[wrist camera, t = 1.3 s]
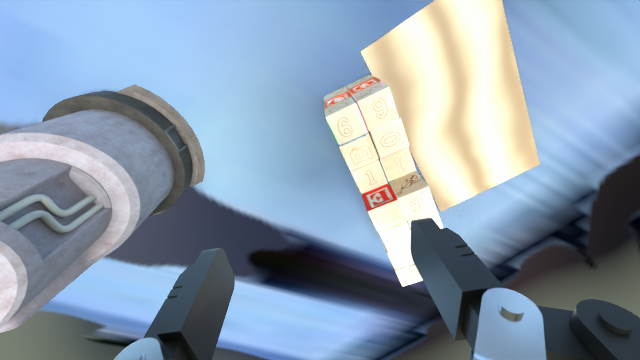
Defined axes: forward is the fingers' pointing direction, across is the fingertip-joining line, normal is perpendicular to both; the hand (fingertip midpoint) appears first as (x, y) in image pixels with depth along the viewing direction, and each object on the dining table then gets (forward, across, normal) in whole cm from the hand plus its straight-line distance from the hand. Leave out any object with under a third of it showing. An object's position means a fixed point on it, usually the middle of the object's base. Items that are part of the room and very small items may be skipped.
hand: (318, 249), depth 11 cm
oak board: (+23, -19, +2) cm, 30 cm away
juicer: (+25, +30, +2) cm, 38 cm away
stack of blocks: (+24, -8, +6) cm, 26 cm away
